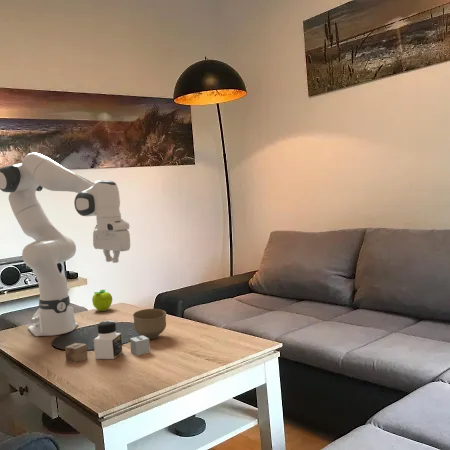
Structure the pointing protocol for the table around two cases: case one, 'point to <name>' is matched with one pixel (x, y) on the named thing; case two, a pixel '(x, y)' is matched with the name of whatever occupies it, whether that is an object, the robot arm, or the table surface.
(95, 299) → the fruit
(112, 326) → the medicine bottle
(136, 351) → the grey painted block
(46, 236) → the robot arm
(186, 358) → the table surface
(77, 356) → the walnut block
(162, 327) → the bowl
